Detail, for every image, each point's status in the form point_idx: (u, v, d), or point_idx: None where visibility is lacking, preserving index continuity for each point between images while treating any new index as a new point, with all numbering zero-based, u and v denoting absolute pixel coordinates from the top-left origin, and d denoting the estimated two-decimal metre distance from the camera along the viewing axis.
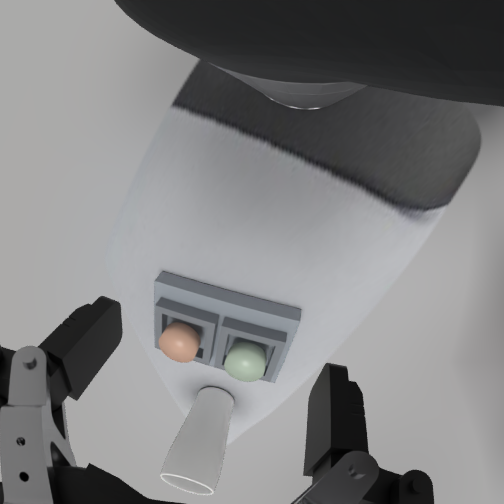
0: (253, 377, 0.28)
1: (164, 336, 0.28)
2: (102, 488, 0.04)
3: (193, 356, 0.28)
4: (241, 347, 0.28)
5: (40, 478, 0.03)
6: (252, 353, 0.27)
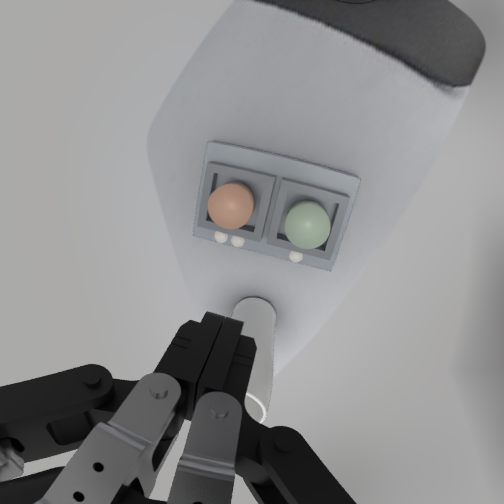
0: (317, 240, 0.26)
1: (217, 192, 0.25)
2: (102, 488, 0.04)
3: (248, 216, 0.26)
4: (304, 202, 0.26)
5: None
6: (317, 205, 0.25)
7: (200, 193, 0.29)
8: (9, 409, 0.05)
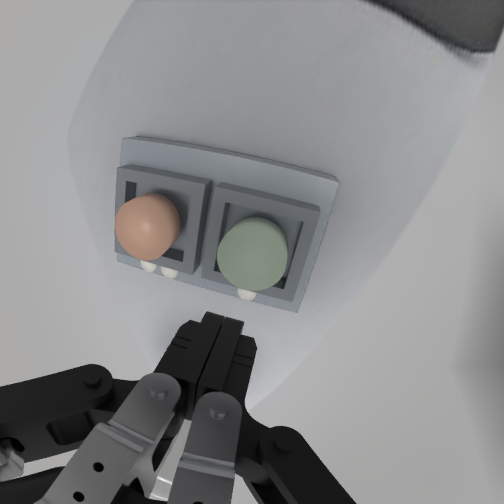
0: (267, 279, 0.17)
1: (123, 209, 0.17)
2: (102, 488, 0.04)
3: (166, 243, 0.17)
4: (246, 221, 0.17)
5: None
6: (265, 227, 0.16)
7: None
8: (9, 409, 0.05)
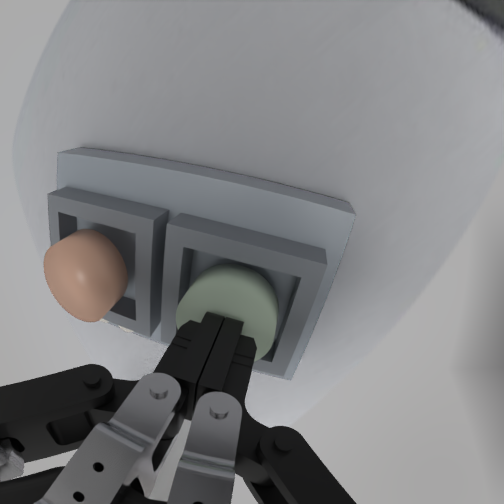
0: None
1: (50, 255, 0.11)
2: (102, 488, 0.04)
3: (105, 304, 0.11)
4: (217, 272, 0.12)
5: None
6: (244, 284, 0.11)
7: None
8: (9, 409, 0.05)
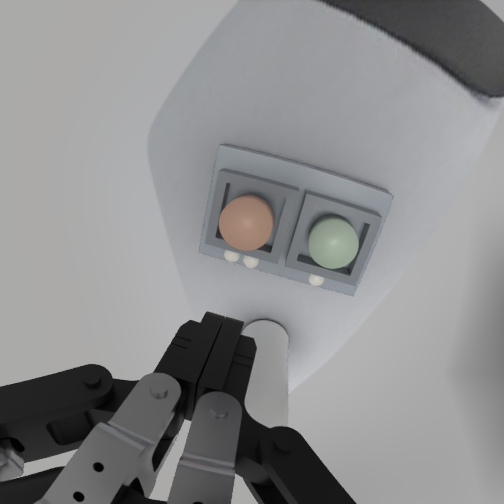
0: (343, 260, 0.23)
1: (230, 207, 0.22)
2: (102, 488, 0.04)
3: (267, 236, 0.22)
4: (330, 217, 0.23)
5: None
6: (345, 222, 0.22)
7: (209, 205, 0.25)
8: (9, 409, 0.05)
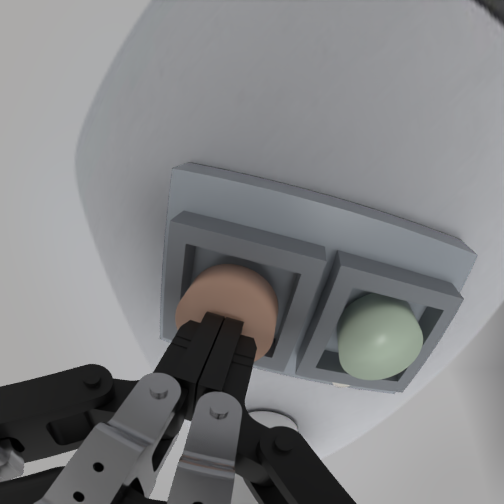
0: (393, 368, 0.12)
1: (193, 297, 0.11)
2: (102, 488, 0.04)
3: (266, 348, 0.11)
4: (379, 301, 0.12)
5: None
6: (405, 310, 0.11)
7: None
8: (9, 409, 0.05)
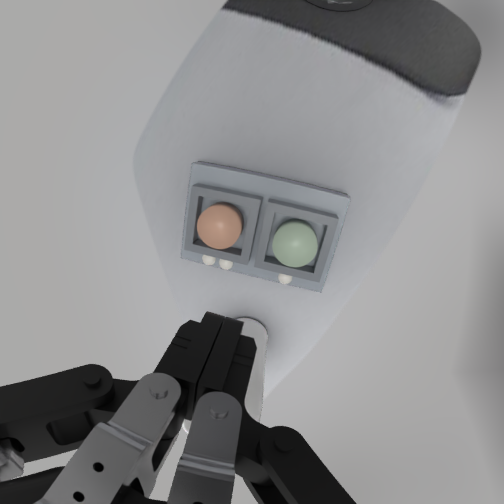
0: (304, 259, 0.26)
1: (205, 213, 0.26)
2: (102, 488, 0.04)
3: (237, 236, 0.27)
4: (291, 221, 0.26)
5: None
6: (304, 224, 0.26)
7: (186, 216, 0.29)
8: (9, 409, 0.05)
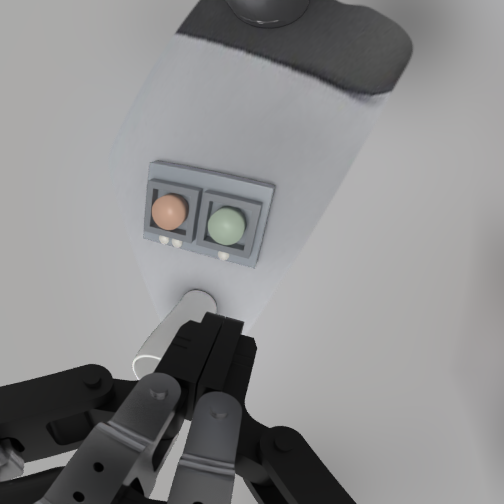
0: (233, 238, 0.33)
1: (157, 201, 0.32)
2: (102, 488, 0.04)
3: (181, 220, 0.33)
4: (223, 208, 0.32)
5: None
6: (232, 210, 0.32)
7: None
8: (9, 409, 0.05)
